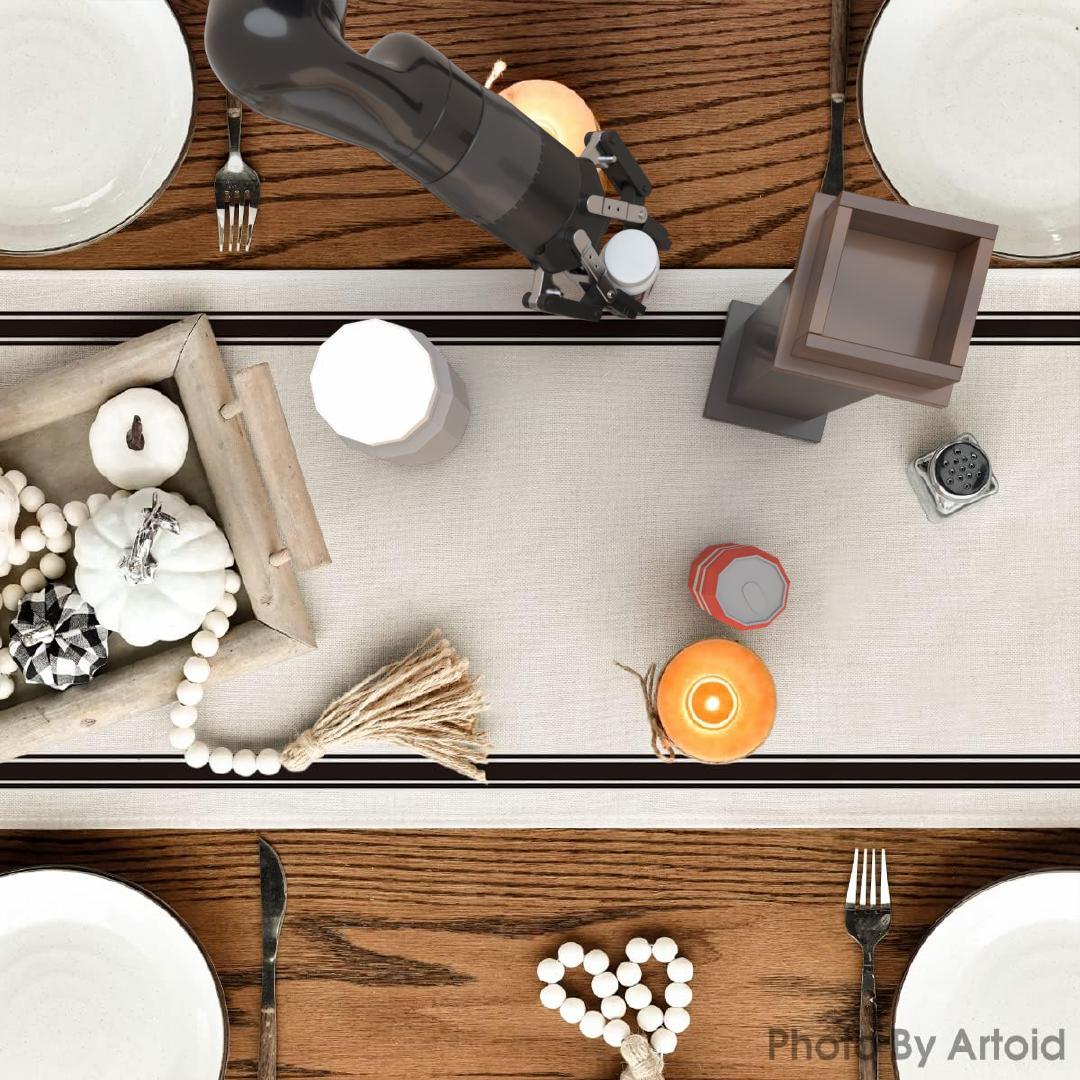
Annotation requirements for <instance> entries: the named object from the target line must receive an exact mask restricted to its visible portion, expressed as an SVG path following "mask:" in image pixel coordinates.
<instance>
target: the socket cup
mask: <svg viewBox="0 0 1080 1080" xmlns="http://www.w3.org/2000/svg"><path fill="white" fill-rule="evenodd" d="M999 227H1000V226H999V225H997V224H993V223H989V222H984V221H980V220H975V219H972V218H967V217H962V216H958V215H954V214H950V213H945V212H941V211H936V210H932V209H928V208H923V207H919V206H914V205H909V204H906V203H900V202H896V201H892V200H888V199H883V198H879V197H874V196H870V195H865V194H861V193H856V192H852V191H848V190H843V189H842V190H841V191H840V192H839V193H838V195H837V196H836V195H832V194H828V193H824V192H819V191H815V192H814V193H813V194H812V195H811V197H810V199H809V204H808V208H807V212H806V216H805V221H804V225H803V227H802V232H801V237H800V242H799V245H798V250H797V253H796V257H795V261H794V266H793V270H792V271H793V274H792V278H791V282H790V286H789V290H788V295H787V299H786V303H785V307H784V311H783V315H782V319H781V324H780V328H779V332H778V336H777V340H776V344H775V348H774V352H773V357H772V361H771V365H770V370H773V371H778V372H782V373H786V374H791V375H795V376H799V377H804V378H808V379H812V380H817V381H821V382H825V383H830V384H834V385H838V386H843V387H847V388H851V389H856V390H860V391H864V392H869V393H873V394H876V395H879V396H881V397H887V398H891V399H895V400H900V401H904V402H909V403H913V404H917V405H922V406H926V407H930V408H934V409H939V410H942V409H946V408H948V407H949V404H950V401H951V397H952V393H953V392H952V391H953V389H954V385H955V384H958V383H960V382H961V380H962V375H963V372H964V367H965V364H966V361H967V360H966V359H967V356H968V353H969V349H970V344H971V340H972V336H973V332H974V329H975V325H976V320H977V317H978V313H979V308H980V304H981V301H982V296H983V292H984V289H985V284H986V280H987V276H988V272H989V268H990V263H991V261H992V255H993V252H994V248H995V244H996V240H997V236H998V232H999Z"/></svg>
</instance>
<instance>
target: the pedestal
mask: <svg viewBox="0 0 1080 1080" xmlns="http://www.w3.org/2000/svg"><path fill="white" fill-rule="evenodd" d="M792 274H793V270H791V272H790V273H789V274H788V275H787V276H786V277H785V278H784V279H783V280H782V281H781V282H780V283H779V284H778V286H777V287H776V288H775V289H774V290H773V291H772V292H771V293H770V294H769V295H768V296H767V297H766V298H765V300H764V301H762V303H761V304H760V305H758V304H755V303H750V302H746V301H742V300H737V299H731V300H730V301H729V304H728V308H727V311H726V316H725V320H724V323H723V328H722V333H721V337H720V341H719V344H718V349H717V353H716V357H715V362H714V365H713V370H712V373H711V379H710V383H709V386H708V391H707V395H706V399H705V403H704V407H703V412H702V416H701V417H702V418H703V419H708V420H712V421H716V422H720V423H724V424H729V425H732V426H738V427H741V428H746V429H750V430H751V429H752V430H755V431H760V432H764V433H768V434H772V435H776V436H781V437H786V438H790V439H794V440H798V441H802V442H807V443H811V444H815V445H817V444H821V442H822V438H823V436H824V435H823V434H824V430H825V426H826V422H827V417H828V414H829V413H832V412H834V411H837V410H839V409H842V408H845V407H848V406H850V405H853V404H855V403H857V402H861V401H864V400H866V399H867V398H870V397H871V398H872V397H874V396H876V395H877V394H873V393H869V392H864V391H860V390H856V389H851V388H847V387H843V386H838V385H834V384H830V383H825V382H821V381H817V380H812V379H808V378H804V377H799V376H795V375H791V374H786V373H782V372H778V371H773V370H770V365H771V361H772V357H773V352H774V348H775V344H776V340H777V336H778V332H779V328H780V324H781V319H782V315H783V311H784V307H785V303H786V299H787V295H788V290H789V286H790V282H791V278H792Z"/></svg>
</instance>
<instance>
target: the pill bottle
mask: <svg viewBox="0 0 1080 1080" xmlns="http://www.w3.org/2000/svg"><path fill="white" fill-rule="evenodd" d="M598 256H599V257H600V259H601V261H602V262H603V264H604V265H605V267H606V268H607V272H606V275H607V276H608V278H609V279H610V281H611V282H612V284H613V285H614V287H615V288H618V289H621V290H622V291H624V292H625V293H627V294H628V295H630V296H631V297H633V298H634V299H636V300H637V301H639V302H640V303H641V304H643V305H644V303H645V302H646V301H647V300H648V298H649V297H650V295H651V293H652V292H653V288H654V286H655V283H656V282H657V279H658V276H659V272H660V267H661V266H660V265H661V264H660V257H659V251H657V248H656V245H655V243H654V241H653V240H652V239H651V238H650V236H648V235H647V234H646V233H644V232H642V231H639V230H635V229H628V230H621V231H619V232H617V233H616V234H614V235H613V236H612V237H610V239H609V240H608V241H607V242H606V243H605V244H604V246H603V247H602V249H601V250H600V253H599V255H598Z"/></svg>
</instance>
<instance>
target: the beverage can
mask: <svg viewBox="0 0 1080 1080" xmlns="http://www.w3.org/2000/svg"><path fill="white" fill-rule="evenodd" d="M790 583H791V581H790V579H789V577H788V575H787V573H786V572H785V569H784V568H783V565H782V563H781V561H780V560H779V558H778V557H776V556H775V555H772V554H770V553H769V552H766V551H764V550H762V549H760V548H759V547H756V546H754V545H749V544H748V545H747V544H742V543H736V542H726V543H719V544H713V545H708V546H706V547H705V548H704V549H703V550H702V551H701V552H700V553H699V554H698V555H697V556H696V557H695V558H694V559H693V560H692V561H691V562H690V567H689V574H688V580H687V589H689V592H690V594H691V596H692V597H693V600H694V601H695V603H696V605H697V607H699V608H700V610H703V611H704V612H705V613H707V614H708V615H710V616H711V617H713V618H714V619H716V620H718V621H719V622H722V623H724V624H726V625H727V626H730V627H731V628H733V629H735V630H737V631H739V632H743V631H744V632H745V631H750V630H755V629H756V630H757V629H761V628H767V627H769V626H770V625H771V624H772V623H773V622H774V621H775V620H776V619H777V618H778V616H779V615H781V613H782V612H784V610H786V608H787V605H788V604H787V603H788V597H789V590H790Z"/></svg>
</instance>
